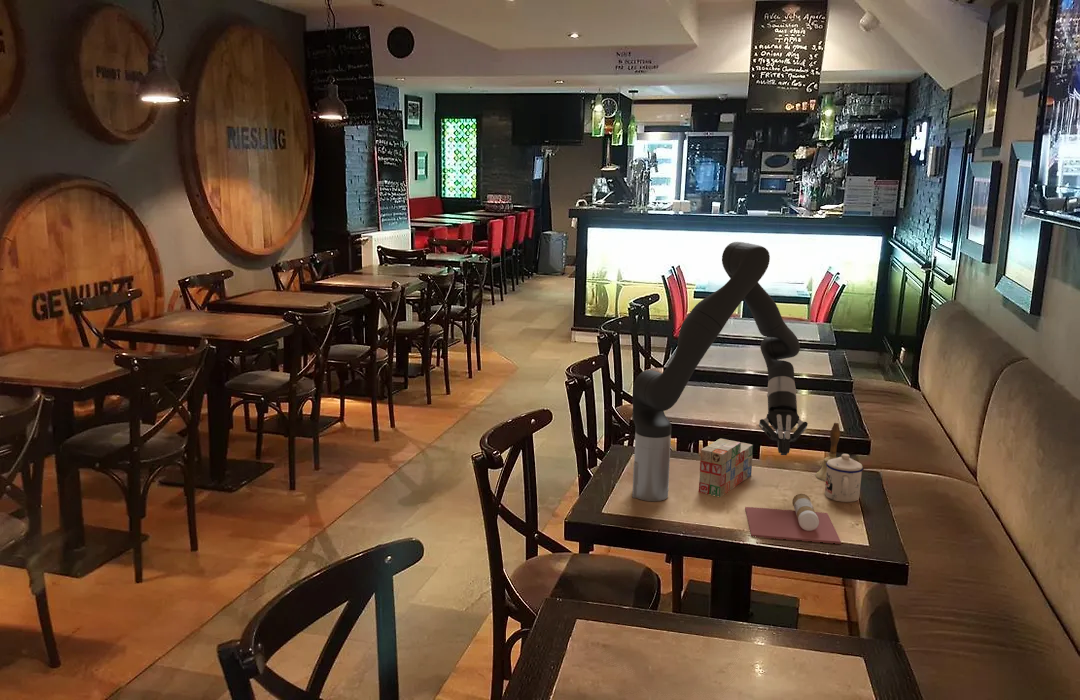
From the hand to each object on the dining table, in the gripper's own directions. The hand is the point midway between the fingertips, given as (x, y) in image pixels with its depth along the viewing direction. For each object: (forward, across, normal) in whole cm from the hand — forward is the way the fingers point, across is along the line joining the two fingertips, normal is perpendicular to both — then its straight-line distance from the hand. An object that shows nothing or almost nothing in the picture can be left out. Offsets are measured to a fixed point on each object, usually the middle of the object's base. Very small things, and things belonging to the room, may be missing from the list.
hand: (784, 453), depth 210 cm
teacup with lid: (+7, +16, +10) cm, 20 cm away
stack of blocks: (+4, -14, +14) cm, 20 cm away
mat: (+22, 0, -5) cm, 22 cm away
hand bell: (-4, +16, +22) cm, 27 cm away
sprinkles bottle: (+13, +4, 0) cm, 13 cm away
